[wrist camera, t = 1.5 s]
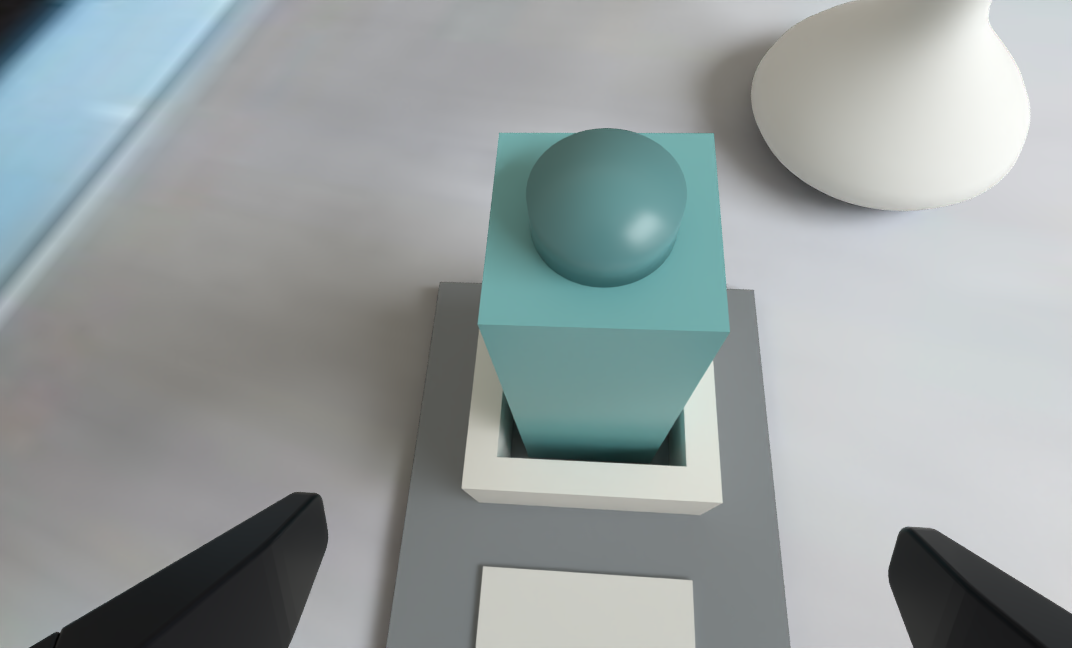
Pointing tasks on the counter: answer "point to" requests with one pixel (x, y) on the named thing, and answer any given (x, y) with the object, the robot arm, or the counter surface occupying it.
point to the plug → (603, 286)
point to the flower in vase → (894, 103)
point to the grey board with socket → (588, 515)
